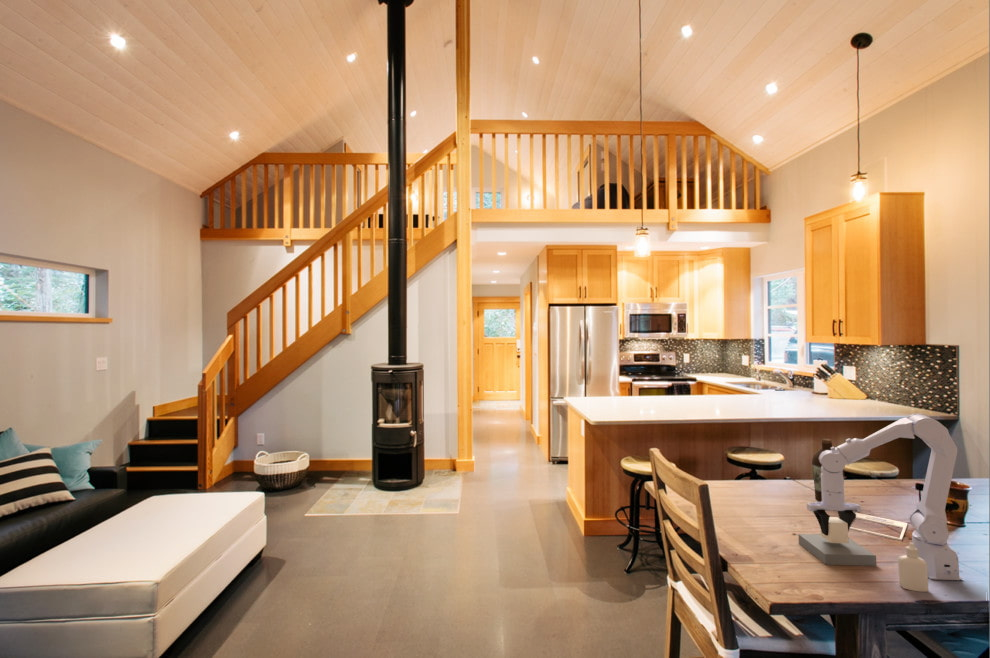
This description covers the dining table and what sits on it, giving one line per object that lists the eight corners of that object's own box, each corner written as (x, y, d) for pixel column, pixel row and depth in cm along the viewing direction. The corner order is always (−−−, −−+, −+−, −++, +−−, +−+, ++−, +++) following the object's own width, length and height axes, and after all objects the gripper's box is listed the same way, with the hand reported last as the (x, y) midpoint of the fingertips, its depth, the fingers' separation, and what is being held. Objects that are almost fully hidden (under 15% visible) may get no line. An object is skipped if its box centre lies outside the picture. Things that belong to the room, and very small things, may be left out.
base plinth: (876, 565, 132) (876, 555, 132) (825, 564, 134) (825, 554, 134) (844, 544, 146) (844, 534, 146) (798, 543, 148) (798, 533, 148)
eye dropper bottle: (901, 581, 124) (899, 537, 124) (929, 589, 119) (927, 543, 120) (898, 587, 121) (895, 541, 121) (926, 595, 117) (924, 549, 117)
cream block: (848, 543, 137) (847, 523, 137) (831, 542, 138) (830, 523, 138) (838, 536, 142) (837, 517, 142) (821, 535, 143) (820, 516, 143)
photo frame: (907, 522, 160) (901, 538, 147) (907, 525, 160) (901, 542, 147) (855, 511, 170) (845, 526, 158) (855, 514, 170) (846, 529, 158)
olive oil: (833, 496, 189) (831, 436, 189) (852, 505, 178) (849, 442, 179) (807, 496, 189) (805, 436, 190) (824, 505, 179) (822, 442, 179)
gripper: (848, 486, 144) (850, 529, 143) (800, 485, 145) (802, 528, 145) (864, 493, 137) (866, 538, 136) (813, 493, 138) (815, 537, 138)
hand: (834, 534), depth 140 cm, fingers closed on cream block, 5 cm apart
